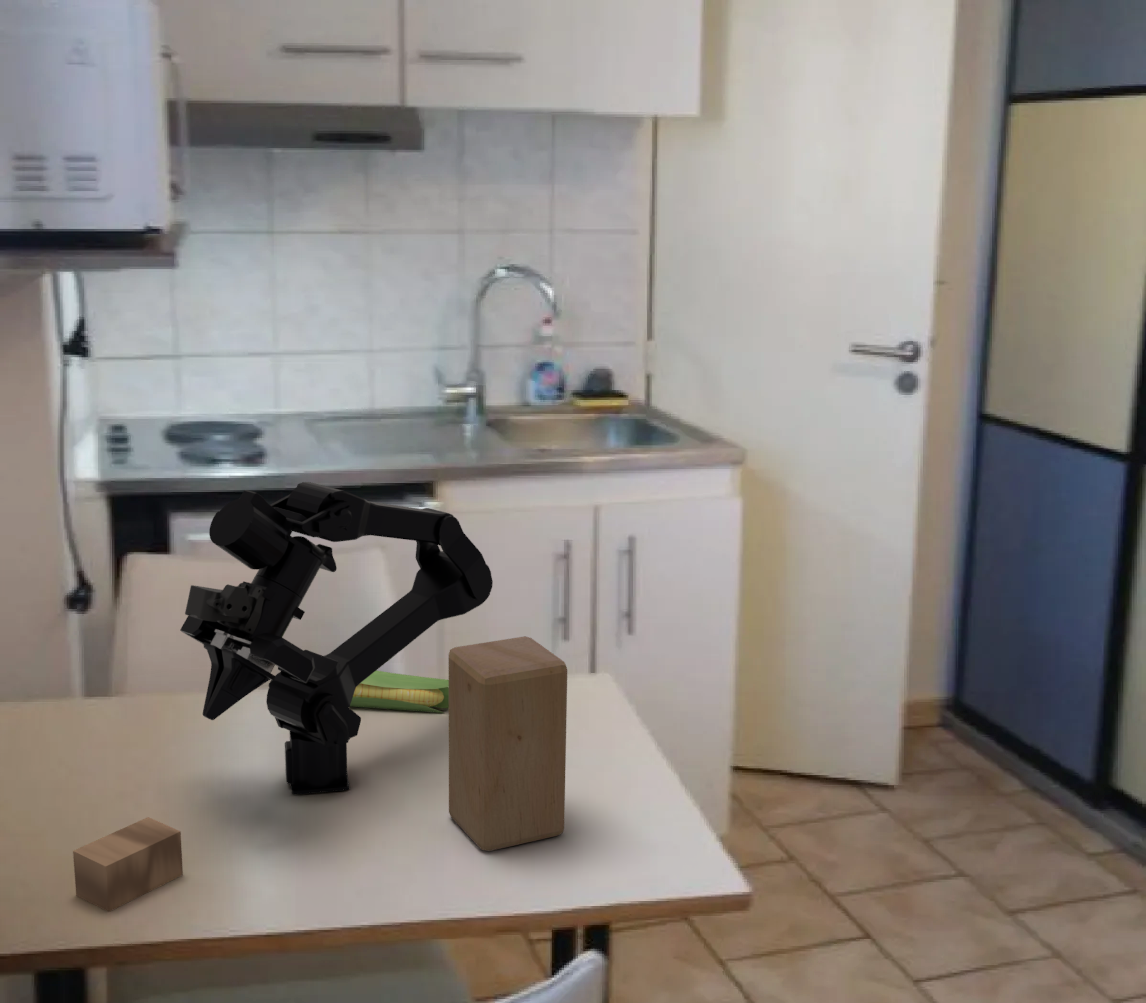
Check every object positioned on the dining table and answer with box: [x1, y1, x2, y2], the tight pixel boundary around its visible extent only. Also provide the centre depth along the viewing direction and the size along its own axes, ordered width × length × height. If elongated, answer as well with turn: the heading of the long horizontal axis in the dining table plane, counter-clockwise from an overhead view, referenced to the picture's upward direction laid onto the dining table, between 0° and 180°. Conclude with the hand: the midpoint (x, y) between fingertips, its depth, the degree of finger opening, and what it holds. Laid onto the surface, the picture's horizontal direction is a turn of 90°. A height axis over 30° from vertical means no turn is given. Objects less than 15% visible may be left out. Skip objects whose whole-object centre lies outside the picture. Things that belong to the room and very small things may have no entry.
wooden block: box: [448, 636, 568, 852], centre depth 158 cm, size 10×10×20 cm
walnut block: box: [72, 816, 184, 913], centre depth 146 cm, size 5×5×9 cm
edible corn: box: [349, 669, 449, 714], centre depth 192 cm, size 5×20×5 cm
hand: (207, 718), depth 156 cm, fingers closed
